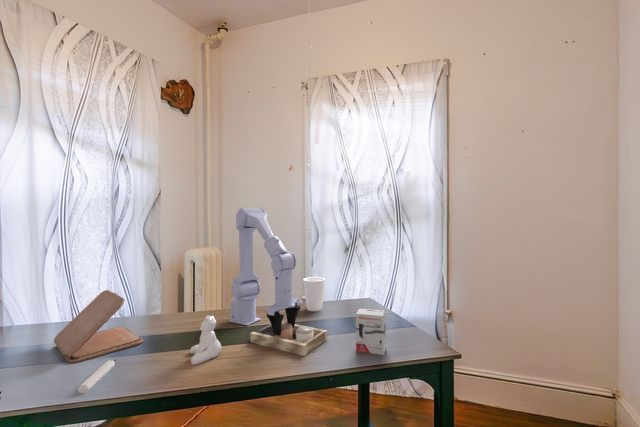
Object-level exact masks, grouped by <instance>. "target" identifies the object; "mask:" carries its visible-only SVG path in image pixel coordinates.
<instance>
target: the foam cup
mask: <svg viewBox="0 0 640 427" xmlns="http://www.w3.org/2000/svg"><path fill="white" fill-rule="evenodd" d="M302 281H303V283H302V284H303V289H304V296H305V302H306V310H307V311H309V312H320V311H322V309H323V301H324V292H325V285H326V278H325V277H321V276H309V277H305V278H303V280H302Z"/></svg>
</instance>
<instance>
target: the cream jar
mask: <svg viewBox="0 0 640 427" xmlns="http://www.w3.org/2000/svg"><path fill="white" fill-rule="evenodd" d="M302 326H303V327H299V328H297V330H296V335H295V341H297V342H301V343H305V342H306V341H308V340H310V339H311V338H313V329H312V328H313V327H312V328H311V326H308V325H307V326H306V325H302Z"/></svg>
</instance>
